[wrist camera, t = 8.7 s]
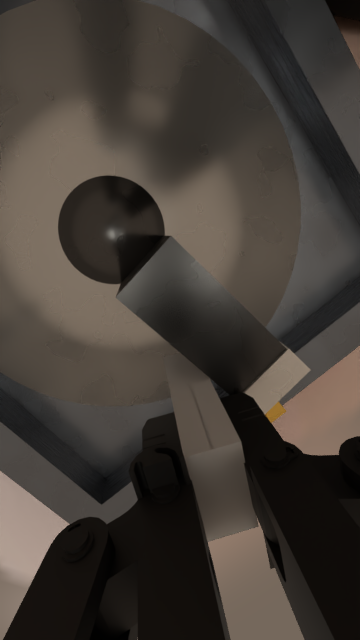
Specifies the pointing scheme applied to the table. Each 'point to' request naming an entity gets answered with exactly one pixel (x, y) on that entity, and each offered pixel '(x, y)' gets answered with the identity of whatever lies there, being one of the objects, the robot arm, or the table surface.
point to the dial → (139, 207)
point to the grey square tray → (304, 285)
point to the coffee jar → (345, 8)
